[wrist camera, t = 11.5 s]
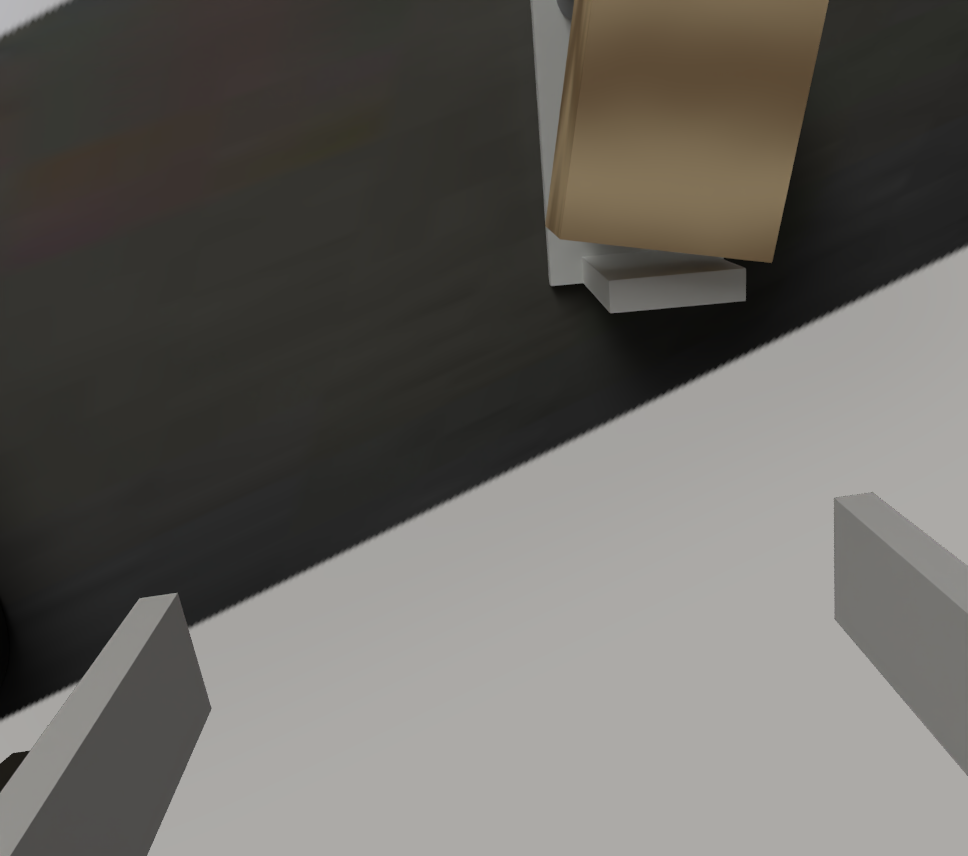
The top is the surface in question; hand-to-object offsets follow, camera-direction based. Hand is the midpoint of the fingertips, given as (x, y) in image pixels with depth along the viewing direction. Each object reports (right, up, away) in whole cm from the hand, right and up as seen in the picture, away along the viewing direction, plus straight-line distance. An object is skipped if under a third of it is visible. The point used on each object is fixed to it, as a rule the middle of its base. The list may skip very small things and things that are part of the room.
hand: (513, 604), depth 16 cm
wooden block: (+6, +16, +14) cm, 22 cm away
